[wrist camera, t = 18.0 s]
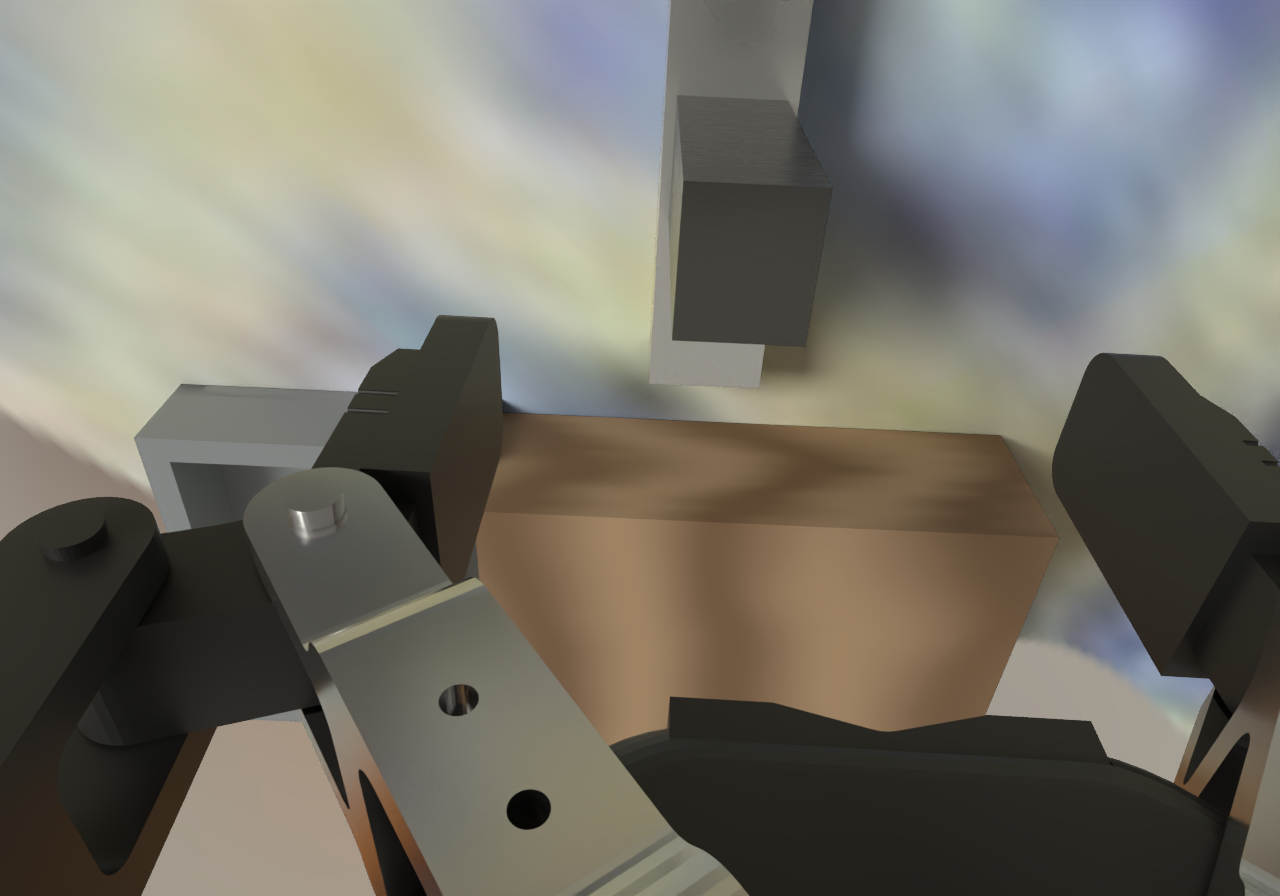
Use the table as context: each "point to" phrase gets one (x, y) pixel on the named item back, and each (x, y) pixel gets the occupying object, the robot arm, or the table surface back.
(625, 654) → the walnut block
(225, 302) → the table surface
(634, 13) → the table surface
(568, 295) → the table surface
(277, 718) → the tray
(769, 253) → the scraper
